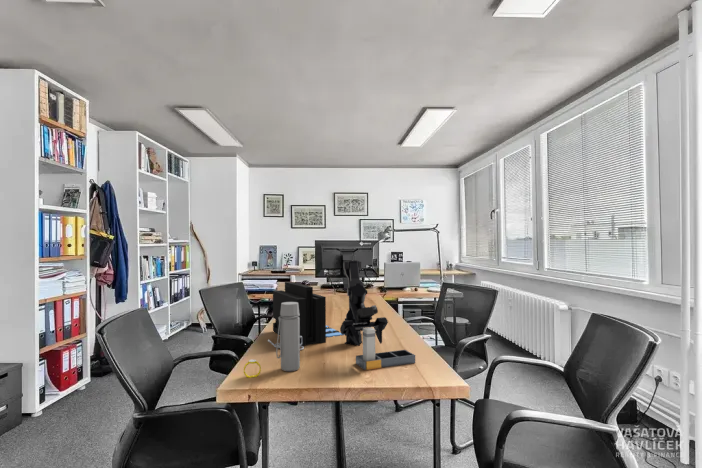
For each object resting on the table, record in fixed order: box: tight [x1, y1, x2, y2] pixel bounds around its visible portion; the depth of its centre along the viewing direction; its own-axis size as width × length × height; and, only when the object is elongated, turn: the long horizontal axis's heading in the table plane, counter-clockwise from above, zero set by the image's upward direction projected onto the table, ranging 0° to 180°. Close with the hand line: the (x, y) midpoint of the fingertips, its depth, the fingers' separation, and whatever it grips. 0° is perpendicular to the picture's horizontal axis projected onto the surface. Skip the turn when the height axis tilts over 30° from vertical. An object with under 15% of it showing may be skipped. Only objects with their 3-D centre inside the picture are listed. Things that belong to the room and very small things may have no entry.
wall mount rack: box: [267, 336, 305, 351], centre depth 174 cm, size 16×14×6 cm
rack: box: [355, 349, 416, 371], centre depth 151 cm, size 22×9×4 cm, turn 111°
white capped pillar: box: [362, 327, 376, 361], centre depth 149 cm, size 4×4×14 cm
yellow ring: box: [243, 359, 262, 379], centre depth 139 cm, size 6×3×6 cm, turn 106°
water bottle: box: [275, 302, 301, 372], centre depth 147 cm, size 9×8×25 cm
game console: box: [272, 281, 345, 347], centre depth 201 cm, size 35×30×27 cm
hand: (370, 344), depth 148 cm, fingers open, 9 cm apart
